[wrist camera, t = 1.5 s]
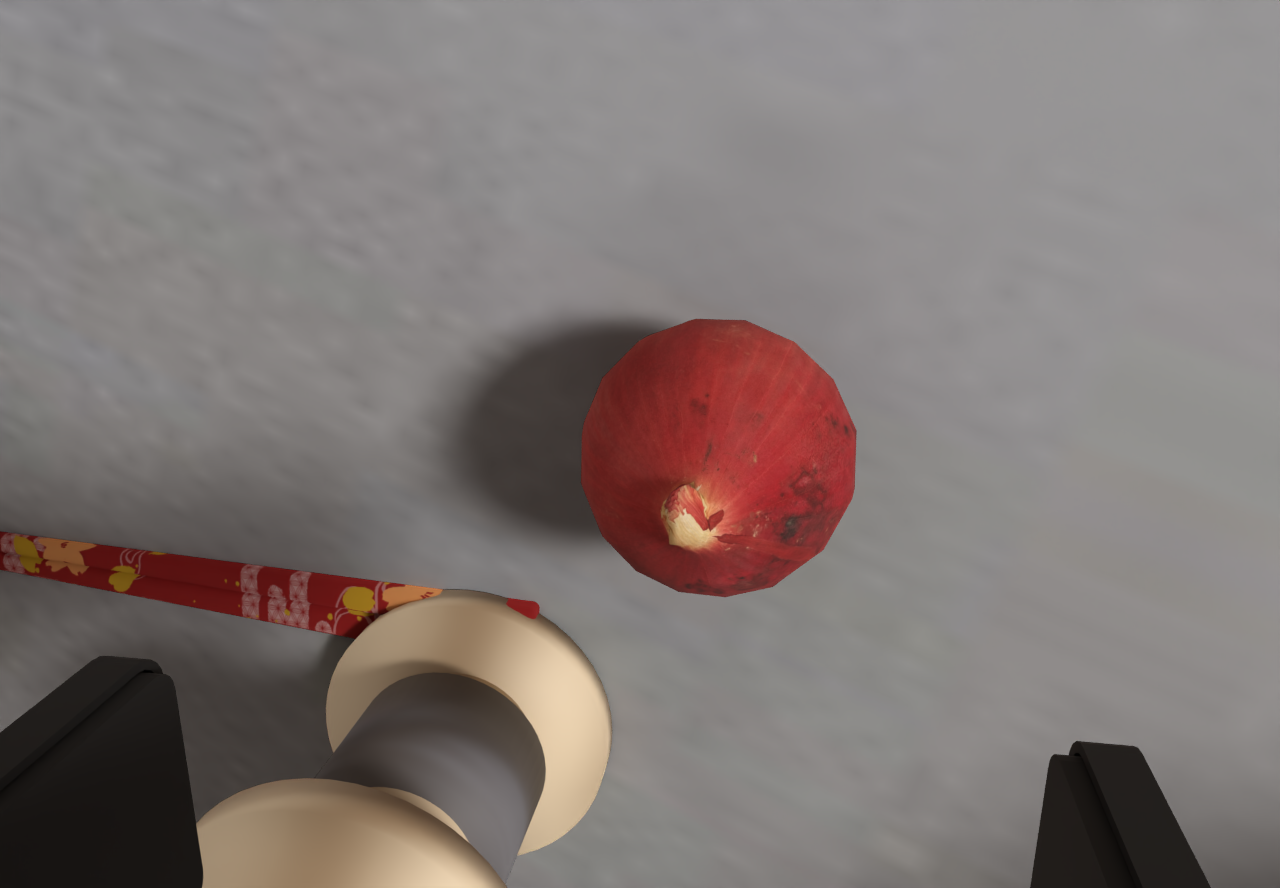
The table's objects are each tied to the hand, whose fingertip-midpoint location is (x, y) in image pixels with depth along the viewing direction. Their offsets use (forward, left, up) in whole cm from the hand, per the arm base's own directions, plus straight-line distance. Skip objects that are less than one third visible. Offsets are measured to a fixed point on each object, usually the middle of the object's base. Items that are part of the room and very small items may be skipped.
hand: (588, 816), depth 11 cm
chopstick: (+17, +6, -16) cm, 24 cm away
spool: (+7, +10, -16) cm, 20 cm away
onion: (0, 0, -16) cm, 16 cm away
